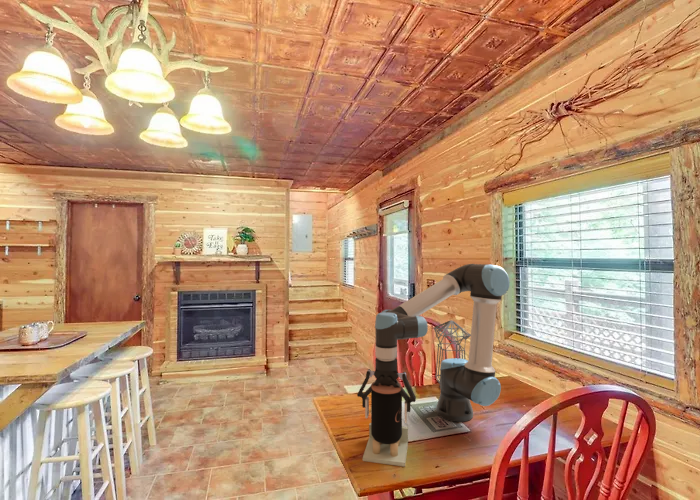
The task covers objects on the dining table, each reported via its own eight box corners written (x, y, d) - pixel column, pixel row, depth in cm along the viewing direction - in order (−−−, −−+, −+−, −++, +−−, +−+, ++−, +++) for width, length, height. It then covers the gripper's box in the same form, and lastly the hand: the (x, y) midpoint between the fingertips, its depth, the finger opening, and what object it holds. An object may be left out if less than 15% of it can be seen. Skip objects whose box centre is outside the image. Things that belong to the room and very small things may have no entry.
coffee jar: (401, 446, 116) (400, 392, 116) (369, 443, 119) (369, 390, 119) (402, 430, 127) (402, 380, 127) (373, 427, 129) (373, 378, 129)
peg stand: (407, 443, 128) (407, 426, 128) (405, 466, 114) (405, 448, 114) (369, 438, 131) (369, 422, 131) (362, 460, 117) (362, 442, 117)
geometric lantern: (460, 383, 185) (461, 317, 184) (471, 396, 170) (472, 324, 169) (430, 383, 185) (431, 317, 184) (438, 396, 169) (440, 324, 168)
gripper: (422, 357, 123) (423, 417, 124) (353, 352, 129) (353, 410, 129) (422, 363, 116) (422, 428, 116) (348, 358, 122) (348, 419, 122)
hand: (386, 418), depth 123 cm, fingers open, 13 cm apart
